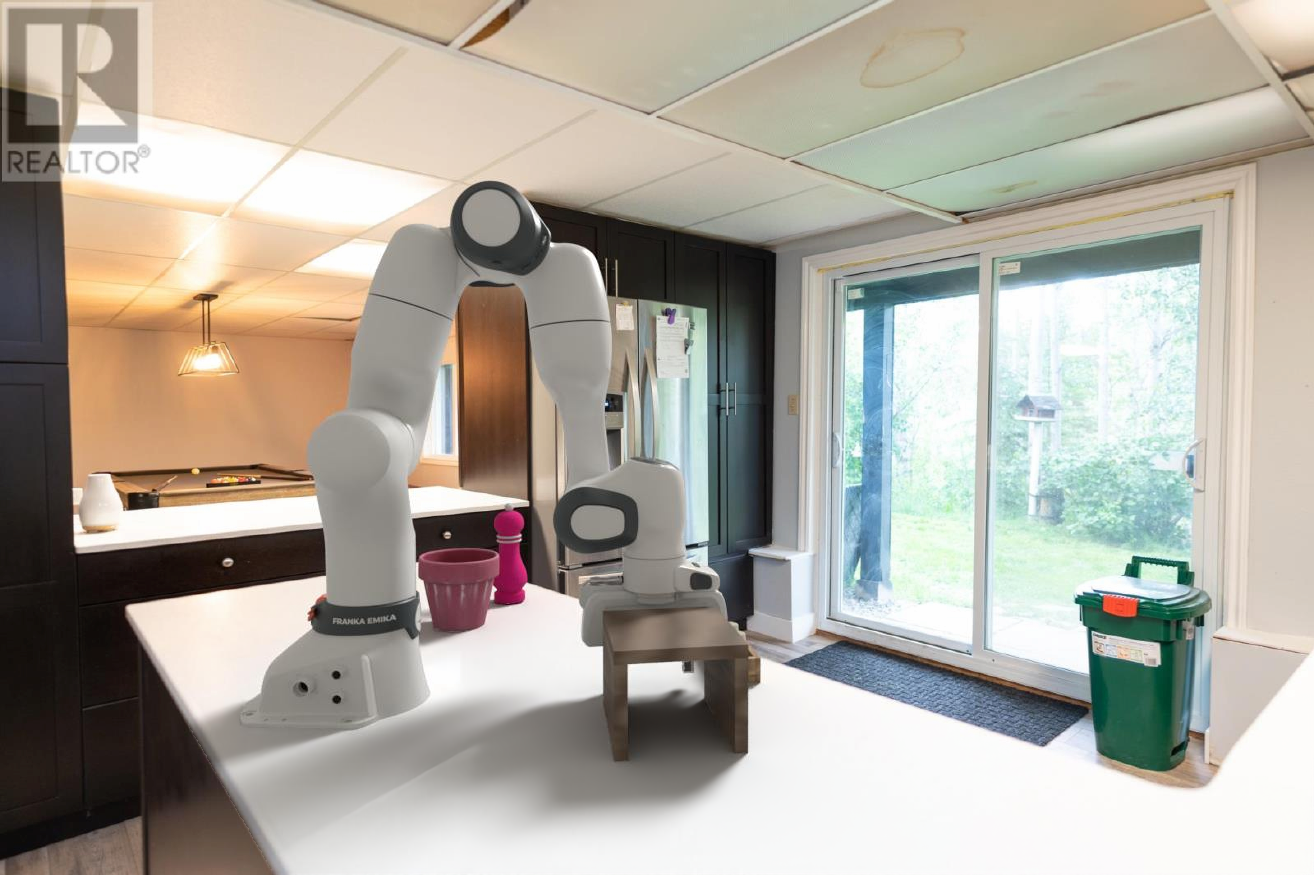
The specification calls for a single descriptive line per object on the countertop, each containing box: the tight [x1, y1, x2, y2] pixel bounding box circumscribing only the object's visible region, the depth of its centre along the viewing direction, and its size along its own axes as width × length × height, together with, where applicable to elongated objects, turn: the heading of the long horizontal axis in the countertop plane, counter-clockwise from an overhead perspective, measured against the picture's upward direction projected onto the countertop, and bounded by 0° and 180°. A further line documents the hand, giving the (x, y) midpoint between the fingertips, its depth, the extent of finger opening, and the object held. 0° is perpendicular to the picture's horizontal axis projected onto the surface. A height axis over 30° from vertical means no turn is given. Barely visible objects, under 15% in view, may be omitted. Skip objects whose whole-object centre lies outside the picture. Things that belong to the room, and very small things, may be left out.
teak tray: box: [729, 621, 762, 684], centre depth 109 cm, size 6×18×6 cm, turn 7°
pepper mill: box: [493, 502, 528, 605], centre depth 146 cm, size 7×7×20 cm
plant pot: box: [417, 547, 499, 632], centre depth 129 cm, size 14×14×13 cm
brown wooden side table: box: [602, 606, 749, 763], centre depth 86 cm, size 15×16×12 cm
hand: (654, 673), depth 98 cm, fingers open, 8 cm apart
